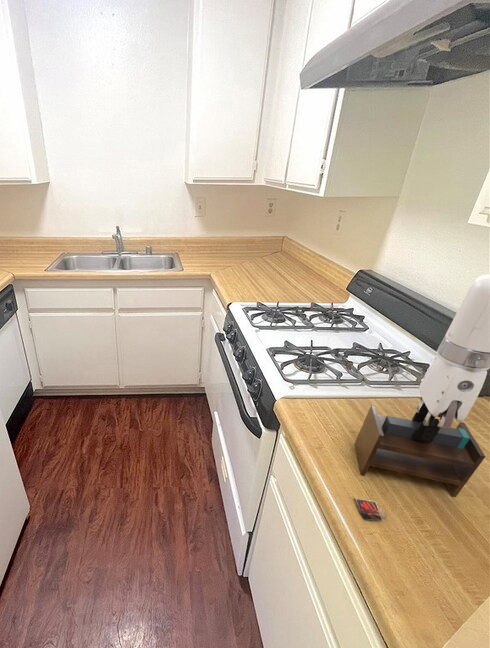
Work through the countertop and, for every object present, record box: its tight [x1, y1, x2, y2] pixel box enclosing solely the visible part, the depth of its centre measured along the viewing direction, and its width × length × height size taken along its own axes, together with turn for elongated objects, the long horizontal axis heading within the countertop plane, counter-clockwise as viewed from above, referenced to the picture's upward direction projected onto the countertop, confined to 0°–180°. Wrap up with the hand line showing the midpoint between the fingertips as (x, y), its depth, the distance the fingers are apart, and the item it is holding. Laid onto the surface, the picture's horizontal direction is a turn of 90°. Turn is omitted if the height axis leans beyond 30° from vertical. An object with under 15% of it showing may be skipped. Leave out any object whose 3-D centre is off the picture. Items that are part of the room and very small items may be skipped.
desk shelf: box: [354, 405, 486, 498], centre depth 70 cm, size 17×10×11 cm, turn 72°
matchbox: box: [353, 497, 387, 522], centre depth 64 cm, size 5×5×1 cm
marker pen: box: [382, 415, 470, 449], centre depth 67 cm, size 13×3×3 cm, turn 72°
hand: (419, 434), depth 68 cm, fingers closed on marker pen, 2 cm apart
